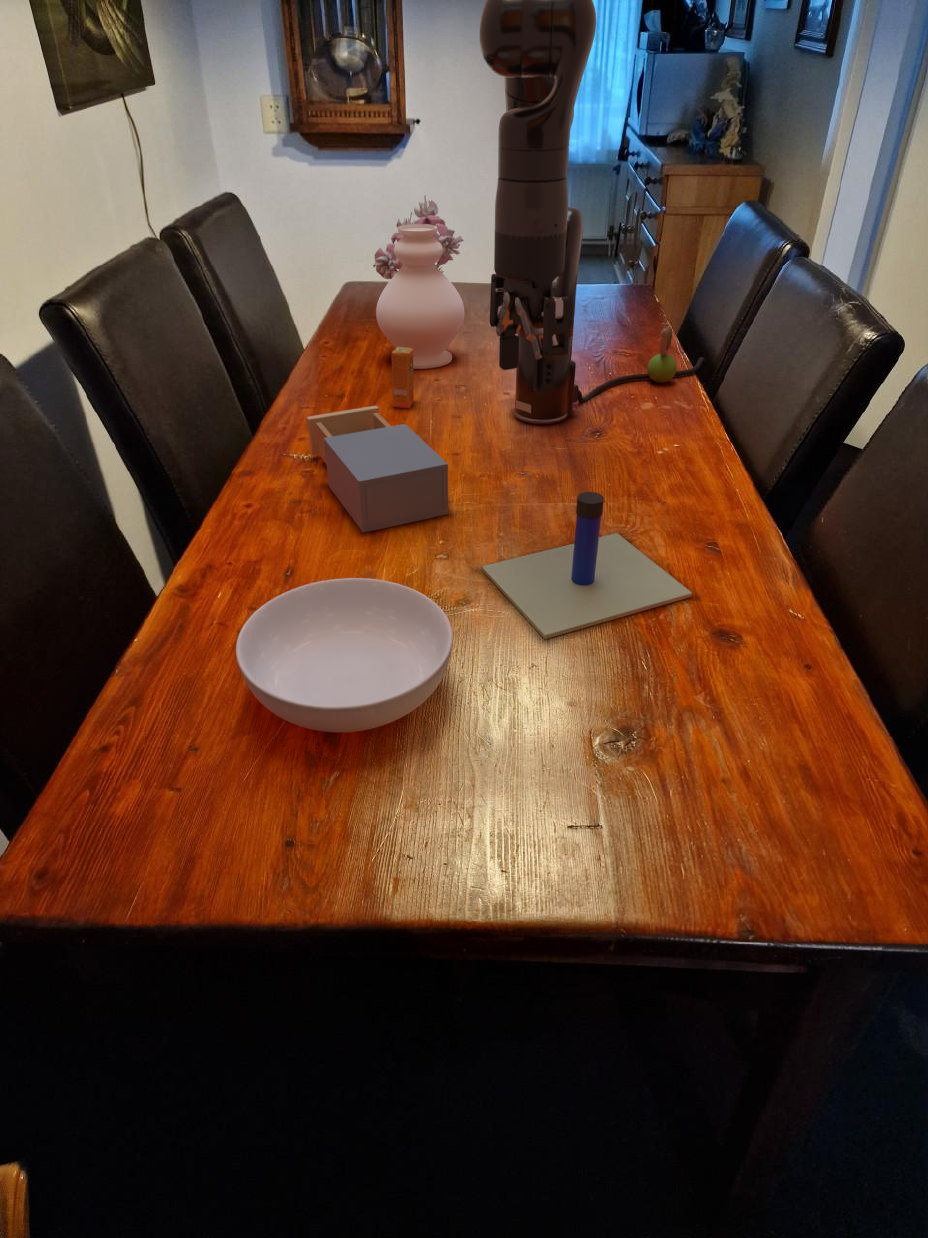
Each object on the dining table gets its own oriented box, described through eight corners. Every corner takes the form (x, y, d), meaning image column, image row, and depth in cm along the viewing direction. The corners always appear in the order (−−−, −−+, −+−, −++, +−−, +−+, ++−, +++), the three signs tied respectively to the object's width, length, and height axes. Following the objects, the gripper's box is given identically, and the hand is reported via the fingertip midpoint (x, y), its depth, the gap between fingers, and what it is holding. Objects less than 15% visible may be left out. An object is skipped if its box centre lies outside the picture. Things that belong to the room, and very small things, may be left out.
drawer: (303, 442, 132) (299, 407, 129) (369, 430, 136) (367, 396, 133) (338, 488, 118) (334, 451, 115) (411, 474, 122) (410, 437, 119)
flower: (343, 302, 201) (355, 207, 180) (413, 277, 212) (431, 185, 191) (394, 353, 195) (412, 262, 175) (463, 325, 206) (487, 236, 186)
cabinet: (328, 486, 121) (323, 437, 117) (407, 470, 125) (405, 423, 121) (363, 533, 109) (358, 481, 105) (448, 514, 114) (448, 463, 109)
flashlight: (586, 570, 100) (594, 489, 94) (599, 582, 98) (609, 500, 92) (565, 576, 99) (572, 494, 93) (578, 588, 97) (586, 505, 91)
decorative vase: (481, 362, 168) (482, 229, 153) (407, 378, 159) (401, 240, 145) (434, 341, 180) (431, 216, 165) (363, 355, 171) (354, 225, 157)
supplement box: (410, 408, 146) (408, 352, 141) (392, 407, 147) (389, 351, 141) (415, 402, 149) (413, 347, 143) (397, 401, 150) (394, 345, 144)
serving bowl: (272, 790, 72) (261, 732, 68) (229, 656, 87) (217, 603, 84) (487, 725, 79) (488, 669, 75) (411, 611, 94) (408, 560, 90)
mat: (616, 536, 109) (617, 532, 108) (691, 597, 97) (692, 592, 96) (481, 570, 102) (481, 565, 101) (544, 639, 90) (544, 635, 89)
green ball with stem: (642, 386, 156) (650, 321, 149) (648, 375, 161) (657, 312, 154) (670, 389, 154) (680, 324, 147) (676, 379, 159) (686, 315, 152)
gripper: (597, 234, 81) (585, 394, 90) (530, 212, 92) (525, 357, 101) (531, 241, 78) (525, 404, 88) (469, 218, 89) (470, 365, 98)
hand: (525, 379), depth 94 cm, fingers open, 8 cm apart
